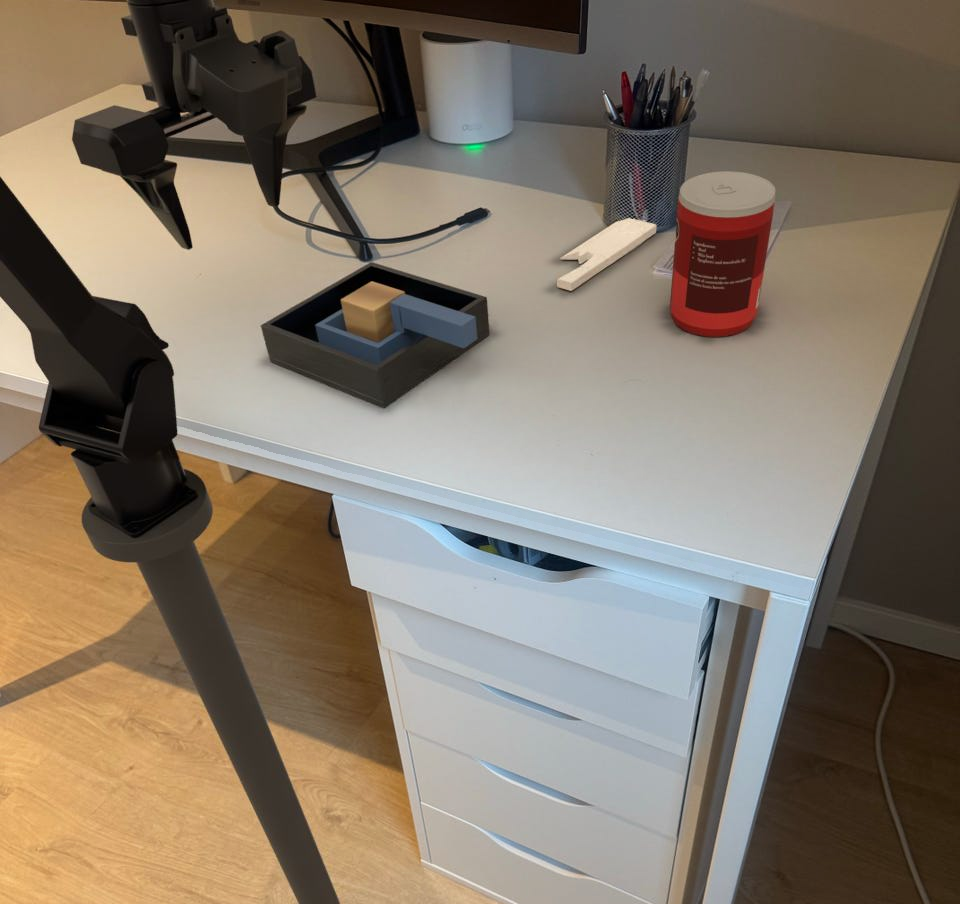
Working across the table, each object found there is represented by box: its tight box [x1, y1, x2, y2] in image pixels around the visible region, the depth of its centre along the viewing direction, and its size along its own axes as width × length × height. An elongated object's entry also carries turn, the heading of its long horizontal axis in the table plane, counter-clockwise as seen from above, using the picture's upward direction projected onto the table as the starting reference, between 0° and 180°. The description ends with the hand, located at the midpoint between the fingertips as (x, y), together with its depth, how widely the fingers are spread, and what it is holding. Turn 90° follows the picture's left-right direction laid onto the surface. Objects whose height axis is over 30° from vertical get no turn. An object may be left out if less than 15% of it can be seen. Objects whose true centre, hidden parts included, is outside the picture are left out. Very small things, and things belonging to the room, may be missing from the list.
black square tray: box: [260, 261, 490, 409], centre depth 80 cm, size 14×14×4 cm
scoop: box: [315, 294, 477, 365], centre depth 78 cm, size 8×15×5 cm, turn 51°
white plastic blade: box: [556, 217, 657, 292], centre depth 91 cm, size 5×15×1 cm, turn 140°
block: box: [341, 281, 405, 343], centre depth 79 cm, size 4×4×4 cm
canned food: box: [669, 171, 776, 338], centre depth 77 cm, size 8×8×11 cm
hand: (231, 226), depth 73 cm, fingers open, 9 cm apart
